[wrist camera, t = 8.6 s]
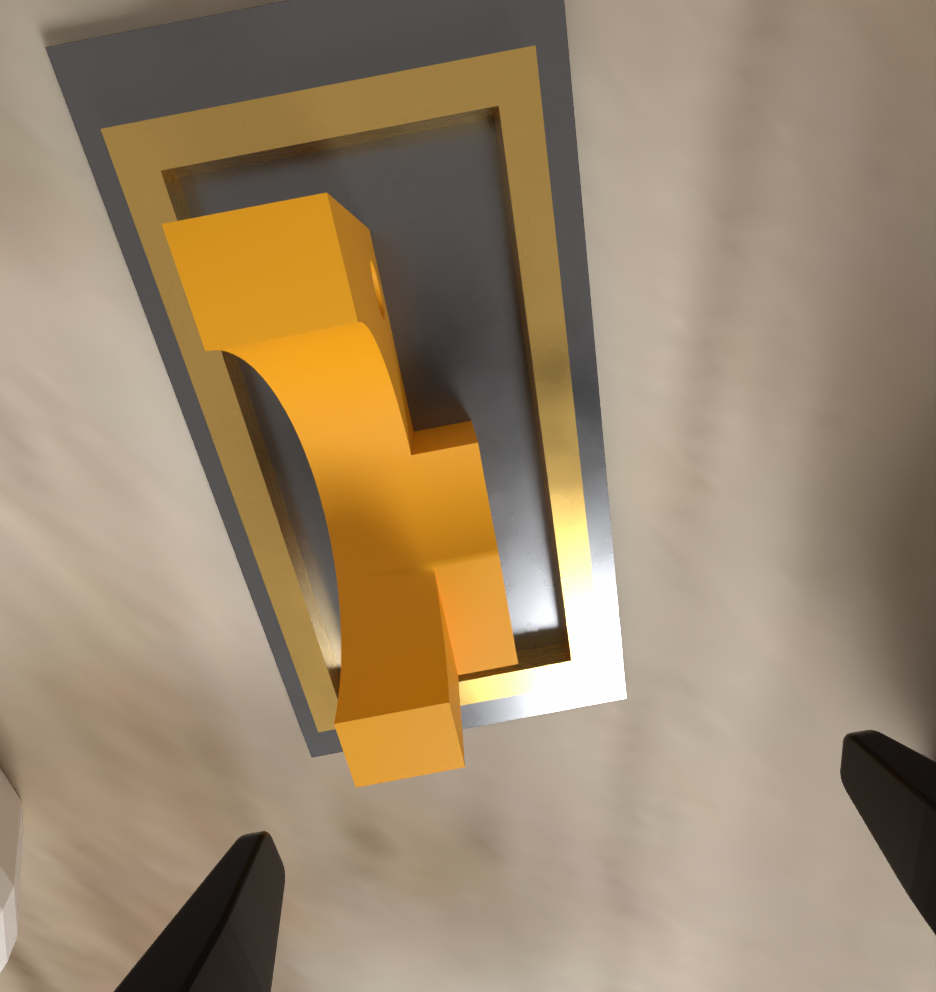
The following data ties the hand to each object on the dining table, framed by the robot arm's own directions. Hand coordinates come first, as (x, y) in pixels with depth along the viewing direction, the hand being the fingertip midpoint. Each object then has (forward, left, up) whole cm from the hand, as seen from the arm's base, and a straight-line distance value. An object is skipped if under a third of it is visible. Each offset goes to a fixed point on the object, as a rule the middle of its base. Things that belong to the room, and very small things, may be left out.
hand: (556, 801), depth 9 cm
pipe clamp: (+2, -3, -10) cm, 11 cm away
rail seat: (+2, -3, -11) cm, 11 cm away
